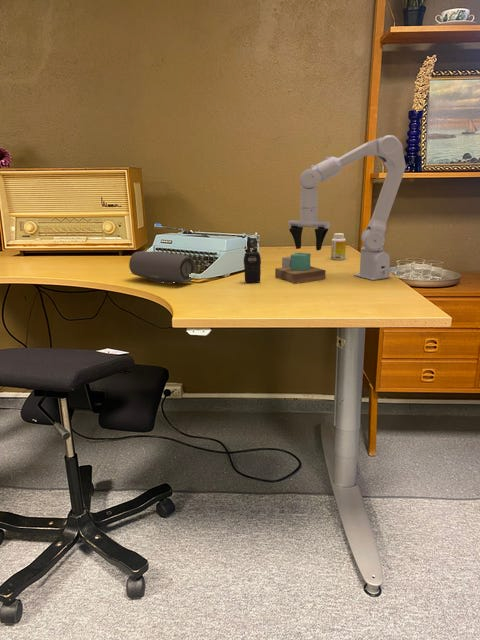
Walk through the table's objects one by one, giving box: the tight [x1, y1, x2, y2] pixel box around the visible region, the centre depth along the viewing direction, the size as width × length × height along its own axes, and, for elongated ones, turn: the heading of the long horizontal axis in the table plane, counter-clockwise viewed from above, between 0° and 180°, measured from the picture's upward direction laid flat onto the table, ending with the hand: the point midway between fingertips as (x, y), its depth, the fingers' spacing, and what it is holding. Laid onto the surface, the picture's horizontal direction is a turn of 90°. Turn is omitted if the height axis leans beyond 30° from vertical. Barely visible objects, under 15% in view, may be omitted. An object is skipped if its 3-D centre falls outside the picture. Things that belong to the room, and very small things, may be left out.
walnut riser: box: [274, 265, 327, 284], centre depth 158 cm, size 12×12×3 cm
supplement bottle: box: [330, 232, 347, 261], centre depth 189 cm, size 6×6×10 cm
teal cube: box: [290, 252, 311, 271], centre depth 157 cm, size 5×5×5 cm
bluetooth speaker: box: [128, 251, 197, 284], centre depth 157 cm, size 23×9×10 cm, turn 56°
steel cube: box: [281, 256, 291, 268], centre depth 169 cm, size 5×5×5 cm
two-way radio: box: [243, 235, 262, 284], centre depth 153 cm, size 6×4×15 cm
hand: (308, 249), depth 158 cm, fingers open, 7 cm apart
